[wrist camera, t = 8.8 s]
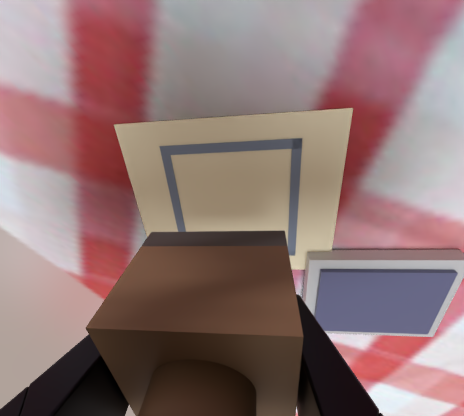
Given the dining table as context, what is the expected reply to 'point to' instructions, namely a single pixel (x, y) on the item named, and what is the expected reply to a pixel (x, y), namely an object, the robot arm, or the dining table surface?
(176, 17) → the dining table surface
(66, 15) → the dining table surface
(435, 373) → the dining table surface
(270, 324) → the stamp
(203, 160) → the sheet
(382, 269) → the ink pad
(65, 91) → the dining table surface
